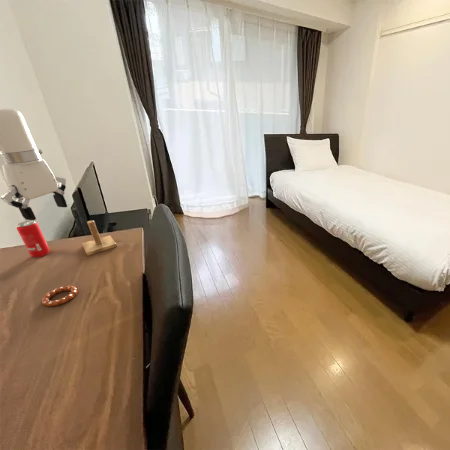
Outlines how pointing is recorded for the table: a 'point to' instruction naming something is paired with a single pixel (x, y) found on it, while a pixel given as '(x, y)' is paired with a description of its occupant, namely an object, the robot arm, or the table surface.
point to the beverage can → (33, 238)
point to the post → (97, 241)
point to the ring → (57, 302)
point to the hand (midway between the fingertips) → (47, 212)
